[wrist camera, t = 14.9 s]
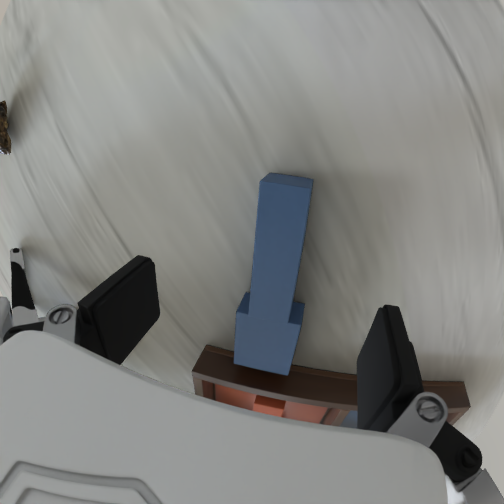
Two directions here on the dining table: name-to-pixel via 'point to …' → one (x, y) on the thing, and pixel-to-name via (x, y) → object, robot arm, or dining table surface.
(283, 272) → the blue tall stepped post
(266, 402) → the orange stepped bar
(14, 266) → the robotic device
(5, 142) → the shark head
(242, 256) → the dining table surface
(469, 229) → the dining table surface
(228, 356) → the cutlery tray
